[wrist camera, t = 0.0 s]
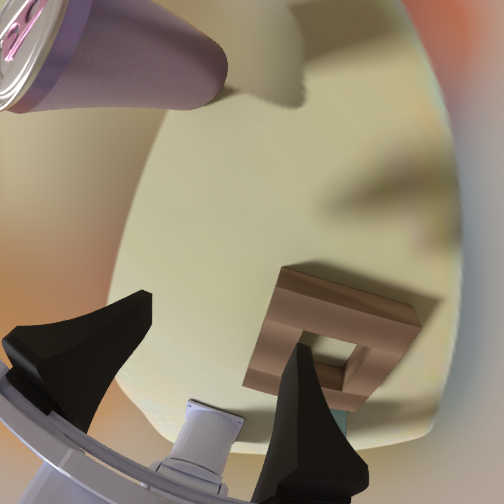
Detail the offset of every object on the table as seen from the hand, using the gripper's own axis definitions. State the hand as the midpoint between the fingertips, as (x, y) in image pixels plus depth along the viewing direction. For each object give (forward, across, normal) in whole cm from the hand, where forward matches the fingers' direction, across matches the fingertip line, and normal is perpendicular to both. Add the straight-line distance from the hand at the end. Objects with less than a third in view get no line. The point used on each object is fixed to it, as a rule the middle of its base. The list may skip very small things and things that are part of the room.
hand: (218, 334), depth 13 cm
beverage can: (+10, +8, -12) cm, 18 cm away
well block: (+10, -8, +7) cm, 15 cm away
